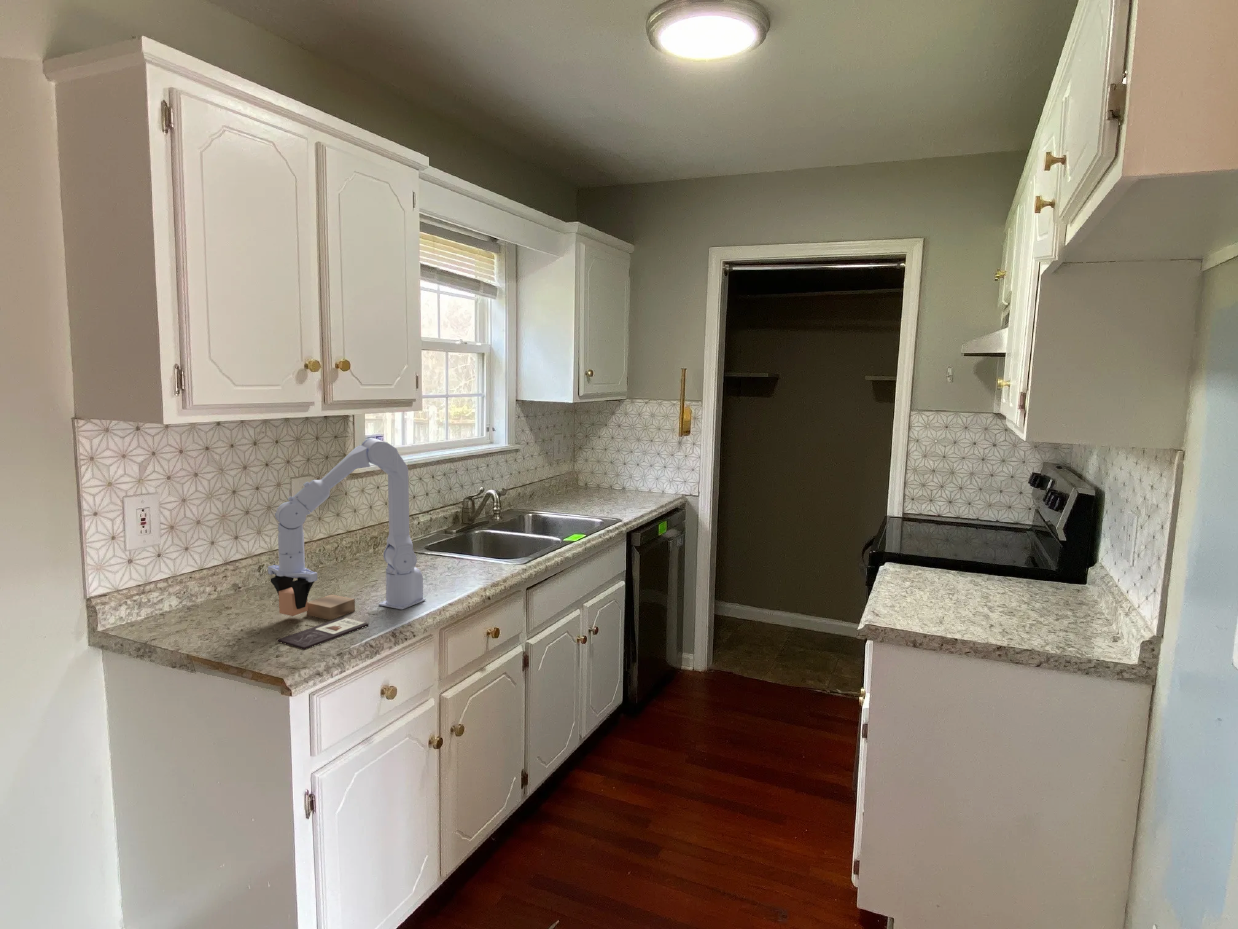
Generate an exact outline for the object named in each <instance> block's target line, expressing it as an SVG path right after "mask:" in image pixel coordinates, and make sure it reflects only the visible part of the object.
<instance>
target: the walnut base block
mask: <svg viewBox="0 0 1238 929" xmlns="http://www.w3.org/2000/svg"><path fill="white" fill-rule="evenodd" d="M354 612H356V599H355V598H353V597H347V596H341V595H336V594H332V593H331V594H328V595H326V596H322V597H319V598H317V599H313V600H310V601H308V611H306V616H310V617H314V616H315V617H314V618H319V619H324V620H328V621H333V620H336V619H339V618H341V617H343V616H346V615H348V614H351V613H354Z"/></svg>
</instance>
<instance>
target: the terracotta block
mask: <svg viewBox="0 0 1238 929" xmlns="http://www.w3.org/2000/svg"><path fill="white" fill-rule="evenodd" d="M308 602H309V601H308V600H307V601H306V605H305V607H304V608H301V609H297V608H296V604H295V595H294V591H293V588H292V587H291V588H287V589H284V590H281V591H279V596H278V606H279V607H278V609H279V611H278V613H279V614H280V615H287V616H290V617H293V616H297V615H300V614H302V613H305V612H306V613H307V611H308Z"/></svg>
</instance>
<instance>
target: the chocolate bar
mask: <svg viewBox="0 0 1238 929" xmlns="http://www.w3.org/2000/svg"><path fill="white" fill-rule="evenodd" d="M365 626H367V627H369V623H367V622H363V621H358V620H356V619H355V620H354V619H350V618H347V617H343V616H340V617H338V618H335V619H332V620H329V621H328V622H325V623H322V624H319V625H316V626H312V627H310V628H307V629H304V630H302V631H298V632H296V633H292V634H289V635H286V636H284V637H281V638H277V642H278V643H280V642H282V643H281V644H284V643H286V644H285V645H287V644H289V645H288V646H290V645H293V646H292V647H294V646H295V647H294V648H297V647H298V648H297V649H301V648H302V649H301V650H307V649H306V648H308V649H311V648H313V647H315V646H314V645H316V646H318V644H319V645H321V644H323V643H326V642H329V641H332V640H335V639H337V637H338V638H340V637H342V635H343V636H346V635H349V634H350V633H349V632H351V633H353V632H352V631H354V632H355V631H358V630H357V629H359V630H361V628H362V627H365ZM365 628H366V627H365ZM362 629H363V628H362ZM345 634H346V635H345ZM320 643H321V644H320ZM312 646H313V647H312Z"/></svg>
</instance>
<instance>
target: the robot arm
mask: <svg viewBox="0 0 1238 929" xmlns="http://www.w3.org/2000/svg"><path fill="white" fill-rule="evenodd" d="M370 464H373V465H375V466H377V467H378V468H379V469H380V470H382V471H383V473H385V474H386V475H387V488H388V489H387V491H388V492H387V494H388V495H387V496H388V498H387V499H388V500H387V501H388V503H387V504H388V536H387V538H386V547H385V549H384V550H383V559H384V561H385V563H386V564H387V565H386V568H385V600H384V601H380V602H379V603H378V606H382V607H387V608H393V609H397V610H405V609H407V608H409V607H412V606H414V605H417V604H420V603H422V602H424V600H425V601H427V600H426V598H425V597H424V577H423V573H422V572H421V571H422V570H420V569H419V568H417V567H416V566H417V562H418V558H417V555H416V553H415V552H414V545H413V541H412V539H411V535H410V498H409V497H410V493H409V492H410V489H409V488H410V486H409V485H410V484H409V466H408V465H407V464H406V462H405V460H404V459H403V458H402V456H401V455H400V453H399V452H398V449H397V448H396V447H395V446H394V445H392V444H391V443H389V442H387V441H385V440H380V439H378V438H375V437H370V438H367V439H365V440H364V441H363V442H362V443H361V444H359V445H357V446H356V447H354V448H353V449H352V450H351V451H350V452H349V453H348V454H347V455H346V456H344V458H342V459H341V461H339V462H338V463H337V464H336V465H335V466H334V467H333V468H332V469H331V470H329V471H328V472H327V473H326V474H325V475H323V477H322V478H321V479H312V480H310V481H305V482H304V483H303V484H302V485H303V486H304V487H302V488H301V489H300V490H299V491H297V493H295V494H294V495H293V496H292V495H290V496H288V497H287V500H288V501H285V502H283V503H281V504H280V505H278V507H277V508H276V511H275V513H274V516H275V519H276V520H277V521H278V523H277V524H278V525H277V531H278V533H277V544H278V545H277V547H278V548H277V549H278V564H273V565H268V566H267V574H268V575H274V577H271V578H270V583H271V584H272V585H273V587H274V588H275V590H276V592H277V595H278V597H279V591H281V590H284V589H287V588H291V587H292V588H293V591H294V595H295V604H296V608H297V609H301V608H304V607H305V605H306V601H308V597H309V593H310V591H311V589H312V587H313V585H314V583H315V582H317V581H318V572H316V571H313V570H311V569H309V568H307V567H306V561H305V558H306V557H305V555H306V554H305V534H304V533H305V532H304V523H305V522H306V519H307V516H308V515H311V513H313V512H314V511H315V510H316V509H317V508H318V507H320V505H322V504H323V503H324V502H325V501H327V499H328V498H330V494H331V490H332V489H333V488H334V487H335V486H336V485H338V484H339V483H340V482H341V481H343V480H344V479H345V478H347V477H348V476H349V475H350V474H352V473H353V472H354V471H356V470H358V469H363V468H370V467H371V465H370ZM294 579H296V580H294Z"/></svg>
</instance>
